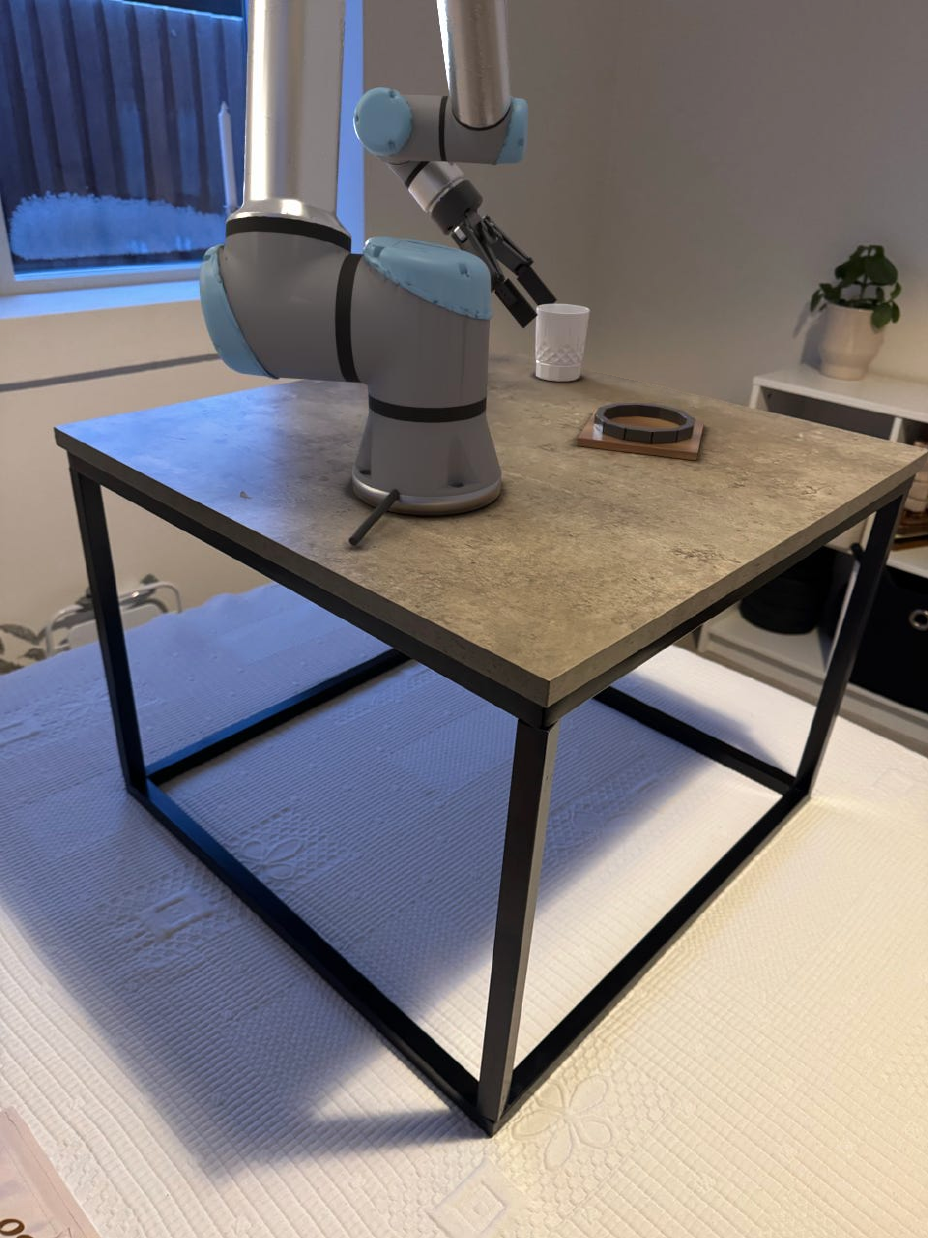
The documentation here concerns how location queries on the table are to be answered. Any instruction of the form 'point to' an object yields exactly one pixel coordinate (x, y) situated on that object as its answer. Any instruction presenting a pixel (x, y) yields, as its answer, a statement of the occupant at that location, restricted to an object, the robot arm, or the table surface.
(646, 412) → the wooden coaster with ring
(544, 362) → the white cup
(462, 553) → the table surface
